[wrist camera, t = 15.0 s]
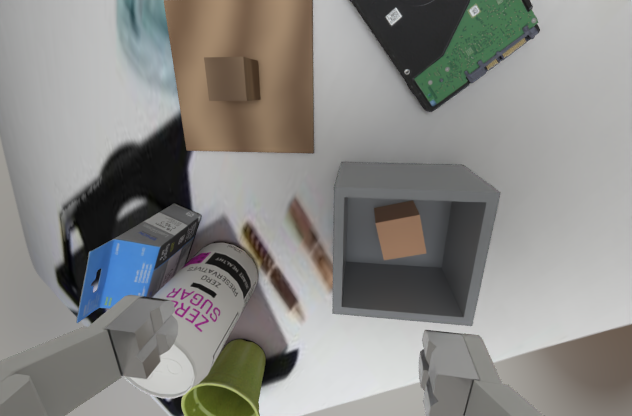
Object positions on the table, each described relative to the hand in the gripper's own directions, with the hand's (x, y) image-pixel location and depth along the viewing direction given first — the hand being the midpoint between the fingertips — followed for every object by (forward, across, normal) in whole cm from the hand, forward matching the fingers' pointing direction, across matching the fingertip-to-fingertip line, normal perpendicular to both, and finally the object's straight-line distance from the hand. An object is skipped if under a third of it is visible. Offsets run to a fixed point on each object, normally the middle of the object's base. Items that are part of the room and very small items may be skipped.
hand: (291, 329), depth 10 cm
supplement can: (+24, +14, +14) cm, 31 cm away
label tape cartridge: (+24, +20, +10) cm, 33 cm away
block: (+23, -6, +6) cm, 25 cm away
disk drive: (+25, -7, -14) cm, 30 cm away
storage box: (+24, -6, +6) cm, 26 cm away
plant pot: (+24, +13, +28) cm, 39 cm away
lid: (+25, +10, -8) cm, 28 cm away
